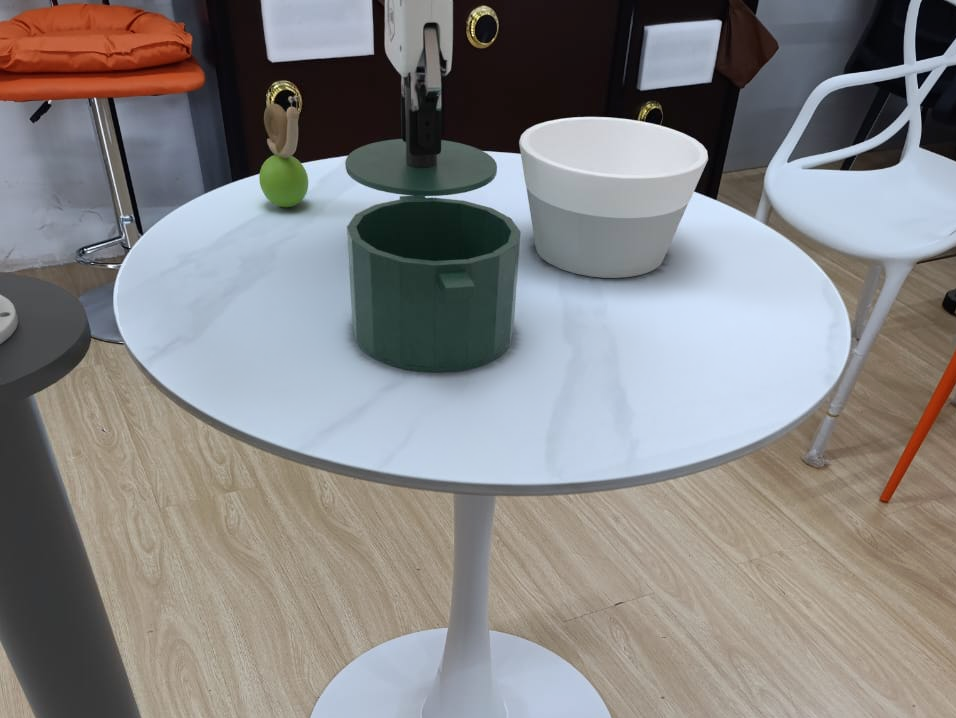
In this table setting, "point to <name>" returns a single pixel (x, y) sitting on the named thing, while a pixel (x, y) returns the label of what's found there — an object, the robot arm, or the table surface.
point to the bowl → (607, 192)
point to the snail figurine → (283, 158)
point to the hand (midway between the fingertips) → (421, 145)
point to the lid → (420, 166)
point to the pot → (433, 283)
